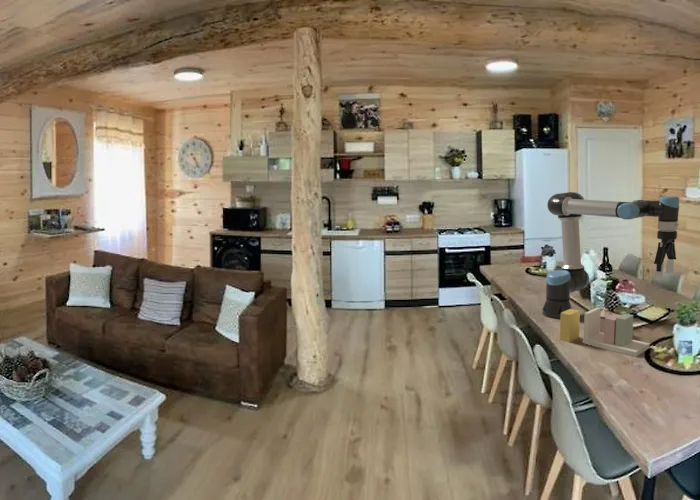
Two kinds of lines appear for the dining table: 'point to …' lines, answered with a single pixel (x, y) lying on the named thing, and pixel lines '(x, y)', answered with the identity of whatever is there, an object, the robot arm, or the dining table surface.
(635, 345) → the block stand tray
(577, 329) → the book
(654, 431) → the dining table surface
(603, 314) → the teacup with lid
